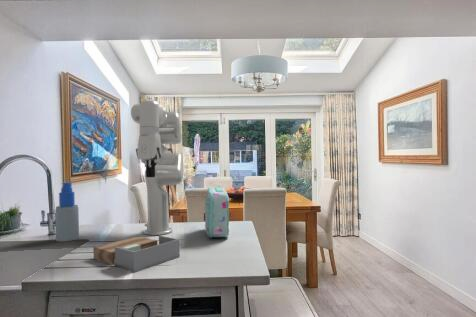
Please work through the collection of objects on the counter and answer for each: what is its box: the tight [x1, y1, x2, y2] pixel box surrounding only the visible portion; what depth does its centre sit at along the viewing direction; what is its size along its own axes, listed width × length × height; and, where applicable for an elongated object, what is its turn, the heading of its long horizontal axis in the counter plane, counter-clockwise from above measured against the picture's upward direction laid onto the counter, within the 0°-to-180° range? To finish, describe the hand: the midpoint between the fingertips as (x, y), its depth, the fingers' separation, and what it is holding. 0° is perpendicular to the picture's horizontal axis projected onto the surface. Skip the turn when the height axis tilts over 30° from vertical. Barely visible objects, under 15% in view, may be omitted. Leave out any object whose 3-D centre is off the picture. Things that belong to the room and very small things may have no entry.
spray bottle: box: [54, 182, 80, 242], centre depth 137 cm, size 9×9×25 cm
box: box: [114, 235, 181, 273], centre depth 103 cm, size 11×18×6 cm, turn 143°
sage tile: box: [123, 244, 141, 251], centre depth 101 cm, size 5×5×2 cm
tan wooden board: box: [93, 236, 159, 266], centre depth 111 cm, size 12×18×4 cm, turn 143°
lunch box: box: [203, 185, 230, 238], centre depth 141 cm, size 27×10×21 cm, turn 9°
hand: (150, 177), depth 125 cm, fingers closed
